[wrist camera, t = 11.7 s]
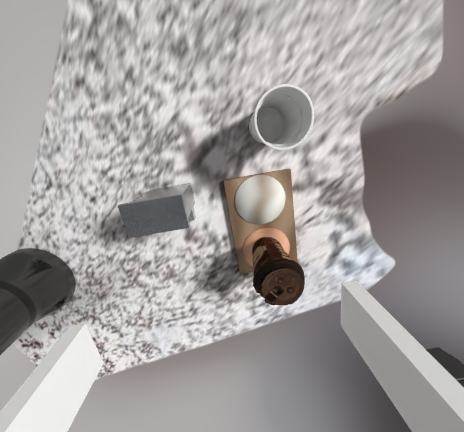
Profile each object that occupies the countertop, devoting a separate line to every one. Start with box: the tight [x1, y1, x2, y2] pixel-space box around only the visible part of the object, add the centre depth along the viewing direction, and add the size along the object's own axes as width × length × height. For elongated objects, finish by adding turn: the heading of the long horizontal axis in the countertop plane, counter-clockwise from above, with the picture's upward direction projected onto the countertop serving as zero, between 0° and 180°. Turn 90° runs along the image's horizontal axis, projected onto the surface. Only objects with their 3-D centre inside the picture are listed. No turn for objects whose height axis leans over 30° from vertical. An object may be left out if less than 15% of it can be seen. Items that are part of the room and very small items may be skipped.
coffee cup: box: [252, 237, 305, 305], centre depth 40 cm, size 9×8×13 cm
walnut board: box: [224, 169, 298, 274], centre depth 45 cm, size 13×21×2 cm, turn 9°
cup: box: [249, 84, 314, 150], centre depth 34 cm, size 8×8×12 cm
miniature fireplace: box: [118, 183, 196, 238], centre depth 38 cm, size 9×8×13 cm
